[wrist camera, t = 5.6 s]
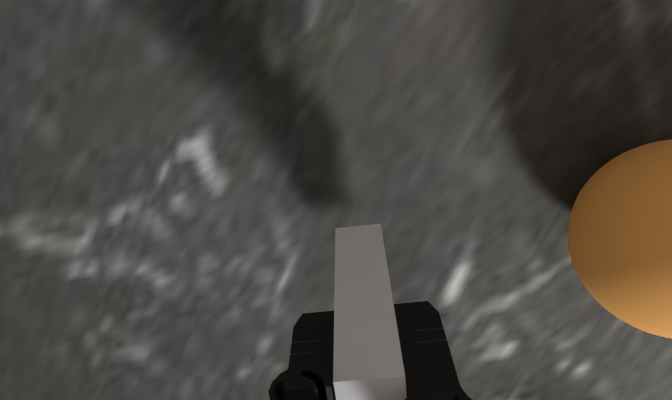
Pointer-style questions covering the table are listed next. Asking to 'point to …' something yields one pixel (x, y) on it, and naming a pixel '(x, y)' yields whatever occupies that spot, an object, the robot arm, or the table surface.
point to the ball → (628, 237)
